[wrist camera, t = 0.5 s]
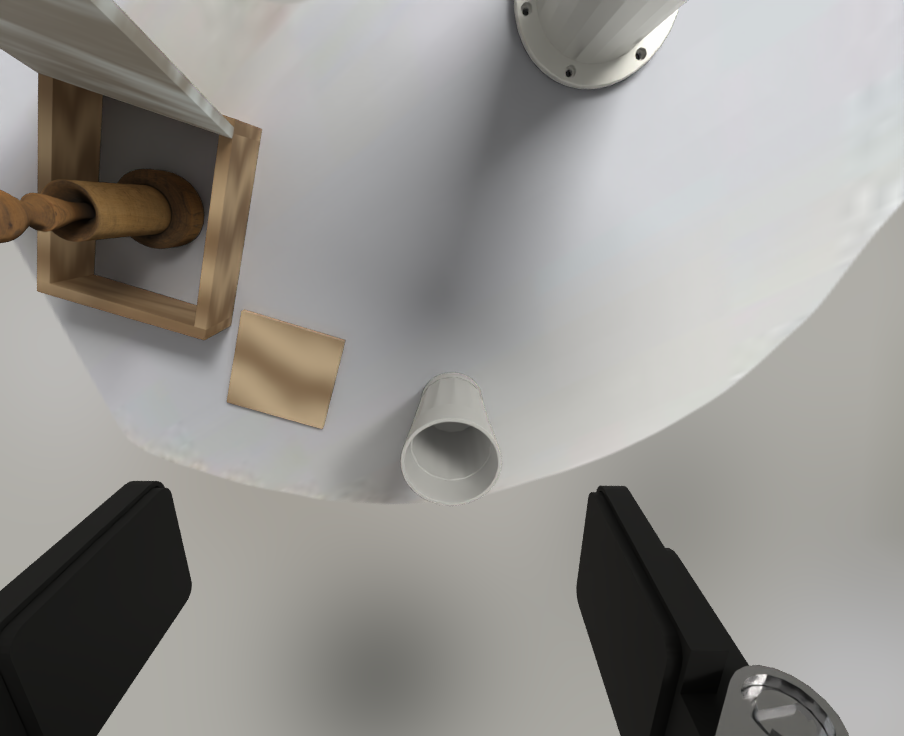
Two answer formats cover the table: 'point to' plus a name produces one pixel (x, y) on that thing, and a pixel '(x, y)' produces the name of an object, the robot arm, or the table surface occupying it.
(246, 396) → the cork mat
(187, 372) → the table surface
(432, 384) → the cup
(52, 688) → the robot arm
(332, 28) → the table surface
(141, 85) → the cold frame
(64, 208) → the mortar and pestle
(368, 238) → the table surface
